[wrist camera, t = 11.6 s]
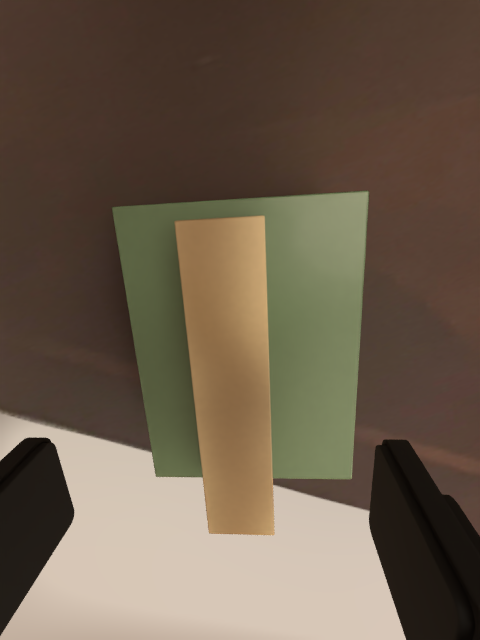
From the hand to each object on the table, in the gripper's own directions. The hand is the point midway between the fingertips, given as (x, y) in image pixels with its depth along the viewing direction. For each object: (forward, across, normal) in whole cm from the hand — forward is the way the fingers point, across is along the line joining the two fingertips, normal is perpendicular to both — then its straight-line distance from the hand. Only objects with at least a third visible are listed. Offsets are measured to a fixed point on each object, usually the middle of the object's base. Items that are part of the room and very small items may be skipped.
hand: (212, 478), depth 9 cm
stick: (+10, 0, +1) cm, 10 cm away
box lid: (+11, 0, +1) cm, 11 cm away
